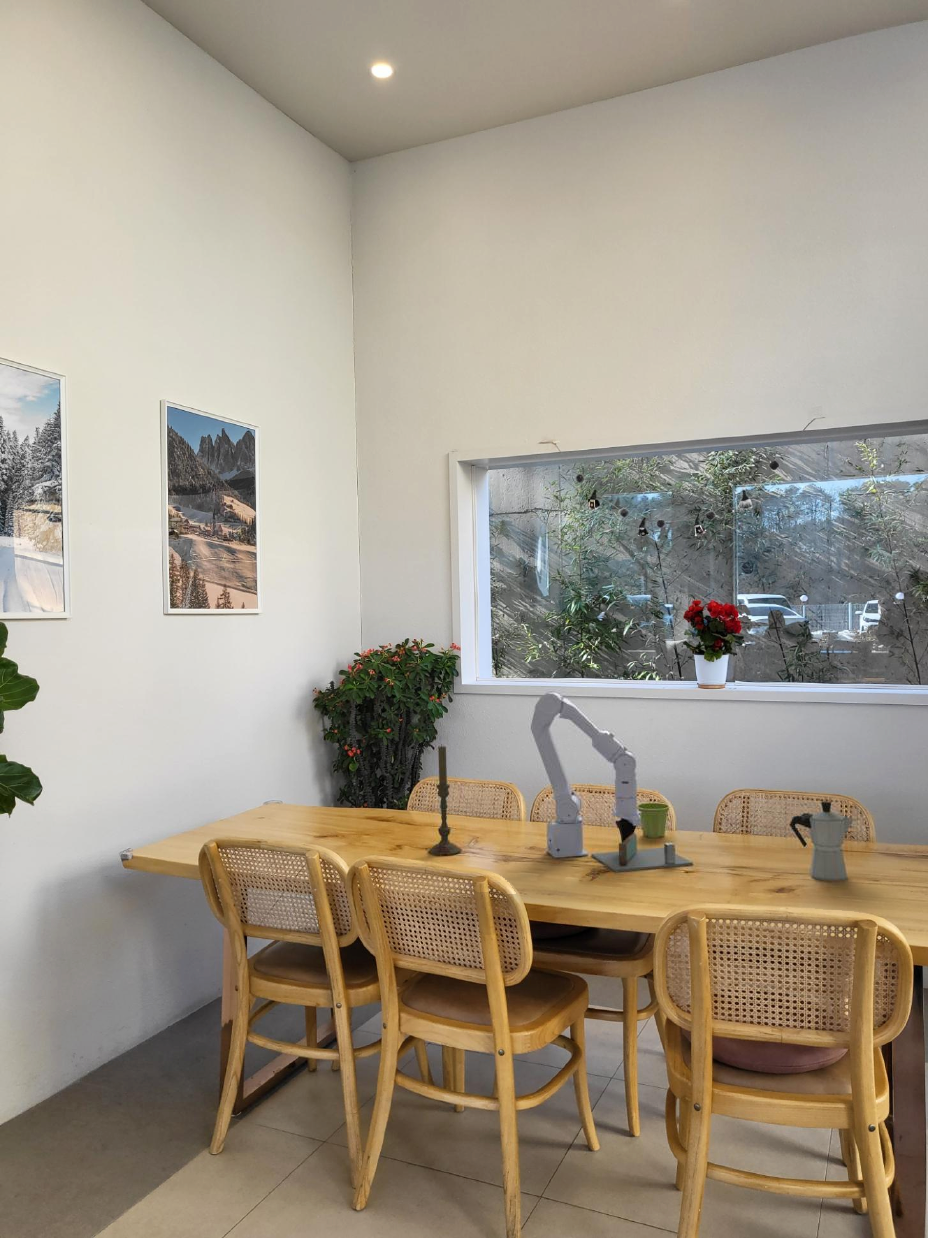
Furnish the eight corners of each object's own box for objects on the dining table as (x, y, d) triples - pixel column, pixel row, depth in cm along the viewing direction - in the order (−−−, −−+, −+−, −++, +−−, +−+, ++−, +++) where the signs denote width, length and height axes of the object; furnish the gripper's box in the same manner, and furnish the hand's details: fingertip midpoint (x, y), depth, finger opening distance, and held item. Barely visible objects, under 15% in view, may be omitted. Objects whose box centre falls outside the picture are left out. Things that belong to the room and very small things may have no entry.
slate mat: (615, 872, 234) (615, 869, 234) (591, 856, 250) (591, 853, 250) (692, 865, 239) (692, 862, 239) (664, 849, 255) (664, 847, 255)
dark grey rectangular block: (668, 866, 238) (667, 845, 238) (664, 864, 240) (664, 843, 240) (675, 865, 238) (674, 844, 238) (671, 864, 240) (671, 842, 240)
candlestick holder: (423, 855, 257) (420, 745, 257) (435, 847, 265) (432, 741, 265) (454, 857, 254) (451, 746, 254) (466, 849, 262) (463, 742, 262)
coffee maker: (853, 872, 228) (851, 798, 228) (860, 882, 219) (857, 805, 219) (788, 870, 231) (786, 797, 231) (793, 880, 222) (790, 804, 222)
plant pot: (670, 839, 267) (669, 809, 267) (637, 839, 269) (636, 808, 269) (670, 832, 276) (669, 802, 276) (637, 831, 278) (637, 802, 278)
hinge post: (621, 868, 237) (620, 845, 237) (618, 866, 239) (617, 843, 239) (628, 868, 237) (627, 844, 237) (625, 866, 239) (624, 842, 239)
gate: (626, 862, 239) (626, 842, 239) (622, 862, 240) (621, 842, 240) (636, 851, 250) (636, 832, 250) (632, 851, 251) (631, 832, 251)
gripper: (651, 800, 245) (652, 852, 245) (629, 790, 259) (630, 839, 259) (626, 802, 243) (627, 854, 243) (605, 792, 257) (606, 841, 257)
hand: (627, 847), depth 251 cm, fingers closed, pressing on gate
